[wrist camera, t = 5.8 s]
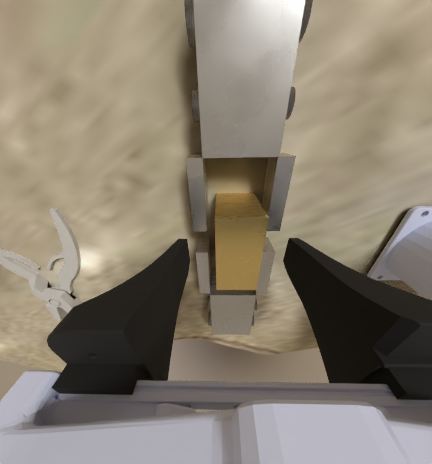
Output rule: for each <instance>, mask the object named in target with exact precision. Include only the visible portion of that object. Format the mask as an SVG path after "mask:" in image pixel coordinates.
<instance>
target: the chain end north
mask: <svg viewBox="0 0 432 464" xmlns="http://www.w3.org/2000/svg"><path fill="white" fill-rule="evenodd" d="M274 255H275V251H274V249H273V247H272V245H271V243H270V241H269V239H268V237H266V238H265V243H264V249H263V255H262V261H261V266H260V272H259V278H258V284H257V290H216V277H211V263H210V242H209V238H198V243H197V248H196V261H197V271H198V280H199V290H200V294H210V296H208V297H207V310H211V312H209V317H208V324H209V325H212V334H246V335H250V330H251V326H254V316H253V312H254V310H257V300H256V294H266V292H267V288H268V283H269V278H270V274H271V269H272V264H273V260H274Z"/></svg>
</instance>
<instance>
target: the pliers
mask: <svg viewBox="0 0 432 464" xmlns="http://www.w3.org/2000/svg"><path fill="white" fill-rule="evenodd" d="M49 212H50V214H51V216H52V218H53V221H54V223H55V226H56V228H57V231H58V233H59V236H60V239H61V243H62V248H63V252H61V253H59V254H57V255H55V256H54V257H53V258H52V259H50V260H49V263H48V265H47V270H51V269H52V268H53V264H54V262H55V260H56V259H60V258H64V264H63V266H62V269H61V270H60V272H59V274H58V275H57V278H58V281H59V284H60V285H58V286H53V287H50V288H47V286H48V280H46V279H45V278H44V277H43V276H42V275H41V274H40V273H38V272H36V271H34V270H33V269H35V270H37V269H38V268H40V266H38V265H37V264H35V263H34V262H32V261H30V260H29V259H27V258H25V257H23V256H21V255H18V254H16V253H13V252H10V251H6V250H3V249H1V248H0V264H1V265H2V266H4V267H5V268H7V269H9V270H10V271H12V272H14V273H15V274H18V275H20V276H22V277H24V278H26V279H28V280H29V283H30V288H31V292H32V293H33V294H34V295H35V296H36V297H37V298H39V299H41V300H44V301H46V302H47V304H46V305H45V306H46V307H47V309H48V310H49V311H50V313H51V314H52V315H53V317H54V318H55V319H56V320H58V321H62V319H63V318H64V317H65V316H66V315H67V314H68V313H69V311H70V310H71V309H72V308H73V307H74V306H77V305H79V304H81V303H82V301H81V300H80V299H79V297H77V298H72V297H71V295H70V293H71V292H72V291H73V286H72V283H73V279H74V277H75V276H76V275H77V274H78V272H79V269H80V252H79V247H78V244H77V241H76V238H75V236H74V234H73V232H72V230H71V228H70V226H69V225H68V223H67V221H66V220H65V218H64V217H63V215H62V214H61V212H60V211H59V209H50V210H49ZM14 259H16V260H19V261H21V262H23V263H25V264H27V265H28V266H30V267H32V268H33V269H31V268H29V267H27V266H25V265H23V264H21V263H20V262H18V261H16V260H14Z"/></svg>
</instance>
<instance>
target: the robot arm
mask: <svg viewBox="0 0 432 464" xmlns="http://www.w3.org/2000/svg"><path fill="white" fill-rule="evenodd" d="M283 262H284V265H285V268H286V271H287V273H288V275H289V278H290V280H291V282H292V284H293V286H294V287H295V289H296V291H297V293H298V295H299V297H300V299H301V301H302V303H303V306H304V308H305V310H306V313H307V315H308V318H309V321H310V323H311V326H312V329H313V332H314V334H315V337H316V340H317V343H318V346H319V349H320V353H321V356H322V359H323V362H324V365H325V369H326V372H327V376H328V379H329V383H282V382H280V383H279V382H214V381H168V372H169V365H170V357H171V351H172V344H173V338H174V331H175V325H176V320H177V314H178V308H179V304H180V300H181V297H182V293H183V290H184V286H185V283H186V279H187V276H188V271H189V264H190V258H189V250H188V243H187V239H178V240H177V241H176V242H175V243H174V244H173V245H172V246H171V247H170V248H169V249H168V250H167V251H166V252H165V253H163V254H162V255H161V256H160V257H159V258H158V259H157V260H155V261H154V262H153V263H152V264H151V265H149V266H148V267H147V268H145V269H144V270H143V271H141V272H140V273H138V274H137V275H135V276H134V277H132V278H130V279H129V280H127V281H126V282H124V283H122V284H120V285H119V286H117V287H115V288H113V289H111V290H109V291H107V292H105V293H103V294H101V295H99V296H97V297H95V298H93V299H90V300H88V301H86V302H84V303H81V304H79V305H77V306H74V307H73V308H72V309H71V310H70V311H69V313H68V314H67V315H66V316H65V317H64V318H63V320H62V321H61V322H60V323H59V324H58V325H57V327H56V328H55V329H54V330H53V331H52V332H51V334H50V335H49V336H48V339H47V343H48V346H49V347H50V348H51V350H52V351H53V352H54V353H56V354H57V355H58V356H59V357H60V358H61V359H62V360H63V361H65V362H66V363H67V365H66V367H65V368H64V370H63V371H62V373H60V372H57V371H51V370H28V371H25V372H24V373H23V374H22V376H21V377H20V378H19V379H18V380H17V382H16V383H15V384H14V385H13V386H12V388H11V389H10V390H9V391H8V392H7V394H6V395H5V396H4V397H3V399H2V400H1V401H0V464H432V206H417V207H413V208H411V209H410V210H409V211H408V212H407V213H406V215H405V217H404V218H403V220H402V221H401V223H400V224H399V226H398V227H397V229H396V231H395V232H394V234H393V235H392V237H391V238H390V240H389V241H388V243H387V245H386V246H385V248H384V249H383V251H382V252H381V254H380V256H379V257H378V259H377V260H376V262H375V263H374V265H373V266H372V268H371V270H370V271H369V273H368V274H367V276H365V275H363V274H361V273H359V272H357V271H355V270H353V269H350V268H348V267H347V266H345V265H343V264H341V263H339V262H337V261H335V260H334V259H332V258H330V257H328V256H327V255H325V254H323V253H322V252H320V251H318V250H317V249H315V248H314V247H312V246H310V245H309V244H307V243H306V242H304V241H302V240H300V239H298V238H289V240H288V244H287V248H286V252H285V256H284V260H283ZM377 280H402V281H403V282H404V283H405V284H407V285H408V286H409V287H411V288H412V289H413V290H414V291H416V292H417V293H418V294H419V295H421V296H422V297H420V296H417V295H414V294H411V293H408V292H406V291H403V290H400V289H397V288H395V287H392V286H389V285H387V284H384V283H382V282H379V281H377ZM195 409H211V410H219V411H207V412H196V411H195Z"/></svg>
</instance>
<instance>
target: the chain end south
mask: <svg viewBox="0 0 432 464" xmlns="http://www.w3.org/2000/svg"><path fill="white" fill-rule="evenodd" d="M312 1H313V0H185V17H186V27H187V35H188V41H189V46H190V47H196V57H197V74H198V90H192V110H193V117H194V121H195V122H200V127H201V145H202V154H199V155H190V156H188V157H187V158H186V166H187V176H188V185H189V195H190V204H191V214H192V223H193V231H207V225H208V200H207V178H206V158H243V157H268V159H267V166H266V174H265V181H264V189H263V196H262V204H261V205H262V207H263V209H264V210H265V212H266V214H267V215H268V217H269V219H268V225H267V231H280V227H281V222H282V218H283V213H284V208H285V204H286V199H287V194H288V190H289V185H290V180H291V176H292V171H293V166H294V161H295V157H296V156H293V155H289V154H285V153H280V150H281V144H282V138H283V132H284V126H285V120H287V119H288V118H289V117H290V115H291V112H292V110H293V106H294V102H295V88H294V87H291V84H292V78H293V72H294V66H295V60H296V54H297V48H298V43H299V42H300V41H301V39H302V38H303V35H304V33H305V30H306V28H307V24H308V21H309V17H310V13H311V8H312Z"/></svg>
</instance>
